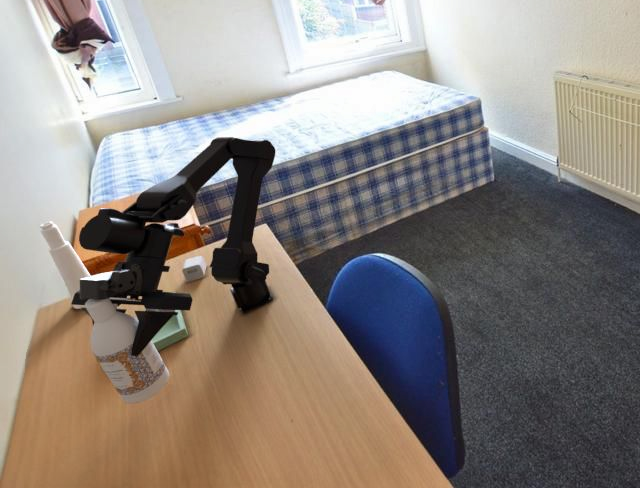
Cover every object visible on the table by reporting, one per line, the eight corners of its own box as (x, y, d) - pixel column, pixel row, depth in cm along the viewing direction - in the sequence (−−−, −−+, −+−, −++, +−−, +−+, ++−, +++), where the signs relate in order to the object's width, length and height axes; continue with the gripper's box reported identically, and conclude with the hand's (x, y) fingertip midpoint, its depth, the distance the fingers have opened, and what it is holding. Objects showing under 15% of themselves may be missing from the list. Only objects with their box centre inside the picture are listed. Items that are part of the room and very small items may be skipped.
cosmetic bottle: (73, 313, 110) (26, 234, 101) (74, 300, 114) (30, 224, 106) (105, 300, 113) (62, 223, 105) (105, 288, 118) (64, 213, 109)
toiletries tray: (179, 307, 109) (176, 300, 108) (188, 336, 100) (184, 328, 99) (112, 337, 101) (108, 330, 100) (115, 371, 92) (110, 363, 91)
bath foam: (113, 406, 79) (55, 317, 71) (144, 371, 86) (94, 286, 78) (151, 405, 79) (97, 315, 71) (179, 370, 85) (133, 284, 77)
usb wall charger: (187, 282, 117) (181, 269, 116) (191, 267, 123) (185, 254, 122) (205, 276, 119) (199, 263, 117) (208, 262, 125) (203, 249, 123)
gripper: (55, 250, 77) (15, 353, 72) (150, 253, 73) (116, 361, 68) (119, 259, 87) (89, 349, 82) (205, 261, 84) (180, 356, 78)
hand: (116, 354), depth 77 cm, fingers closed on bath foam, 7 cm apart
